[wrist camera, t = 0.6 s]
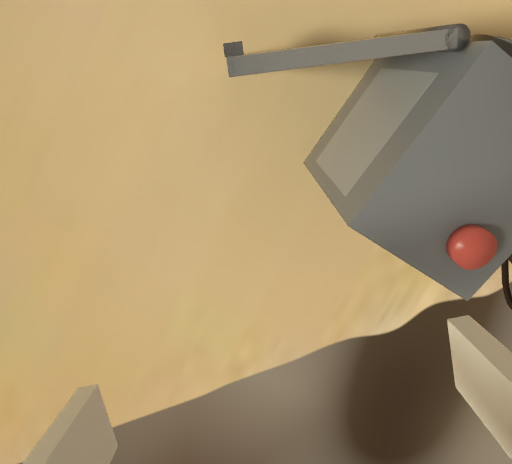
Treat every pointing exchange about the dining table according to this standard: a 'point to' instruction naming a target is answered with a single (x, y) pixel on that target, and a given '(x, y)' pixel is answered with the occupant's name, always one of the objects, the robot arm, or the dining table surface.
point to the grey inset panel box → (428, 160)
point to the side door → (348, 50)
